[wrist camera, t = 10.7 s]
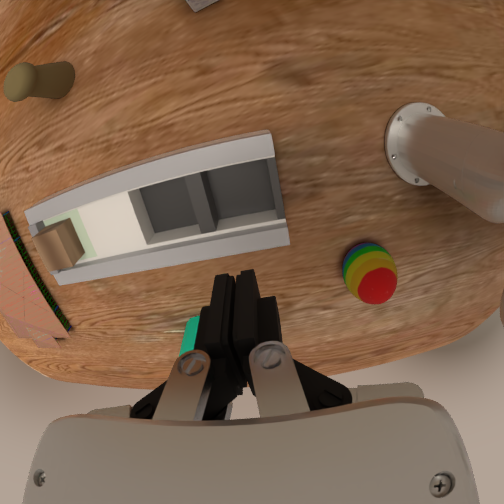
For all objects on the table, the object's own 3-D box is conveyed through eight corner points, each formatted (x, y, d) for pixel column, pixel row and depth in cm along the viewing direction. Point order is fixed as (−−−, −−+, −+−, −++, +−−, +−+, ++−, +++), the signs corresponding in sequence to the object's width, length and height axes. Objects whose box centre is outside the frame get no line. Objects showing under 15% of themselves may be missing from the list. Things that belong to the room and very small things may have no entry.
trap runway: (268, 129, 34) (271, 134, 28) (285, 226, 40) (290, 246, 35) (42, 198, 37) (22, 212, 32) (73, 268, 44) (58, 287, 39)
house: (29, 337, 56) (16, 358, 49) (-31, 233, 40) (-52, 249, 33) (82, 335, 54) (69, 362, 47) (10, 205, 38) (-16, 223, 31)
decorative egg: (392, 254, 43) (419, 290, 34) (358, 287, 46) (377, 327, 37) (363, 225, 40) (389, 260, 32) (327, 263, 44) (343, 303, 35)
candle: (221, 337, 52) (216, 389, 41) (191, 339, 52) (182, 390, 42) (214, 314, 49) (206, 368, 38) (182, 317, 49) (168, 369, 39)
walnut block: (70, 217, 35) (55, 229, 31) (85, 252, 38) (73, 266, 34) (45, 226, 35) (31, 238, 32) (60, 258, 38) (48, 272, 35)
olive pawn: (78, 86, 29) (30, 89, 19) (50, 105, 30) (2, 115, 20) (70, 54, 26) (23, 49, 17) (42, 74, 27) (-6, 77, 17)
